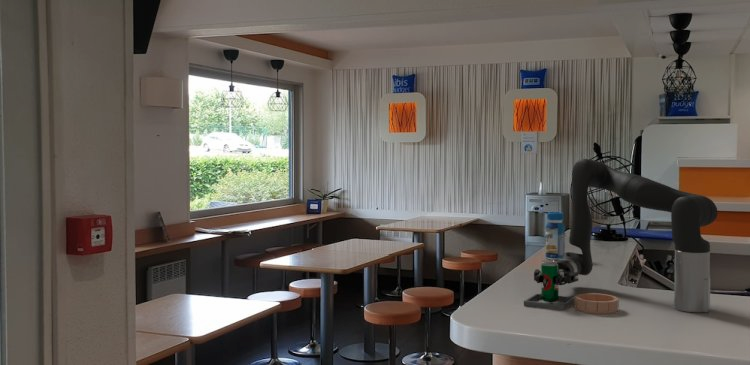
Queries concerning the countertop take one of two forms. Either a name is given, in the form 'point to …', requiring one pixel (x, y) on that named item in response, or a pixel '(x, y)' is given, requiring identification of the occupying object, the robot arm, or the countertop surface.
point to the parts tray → (567, 303)
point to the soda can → (549, 281)
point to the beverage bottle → (555, 236)
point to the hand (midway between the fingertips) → (547, 280)
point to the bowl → (596, 303)
